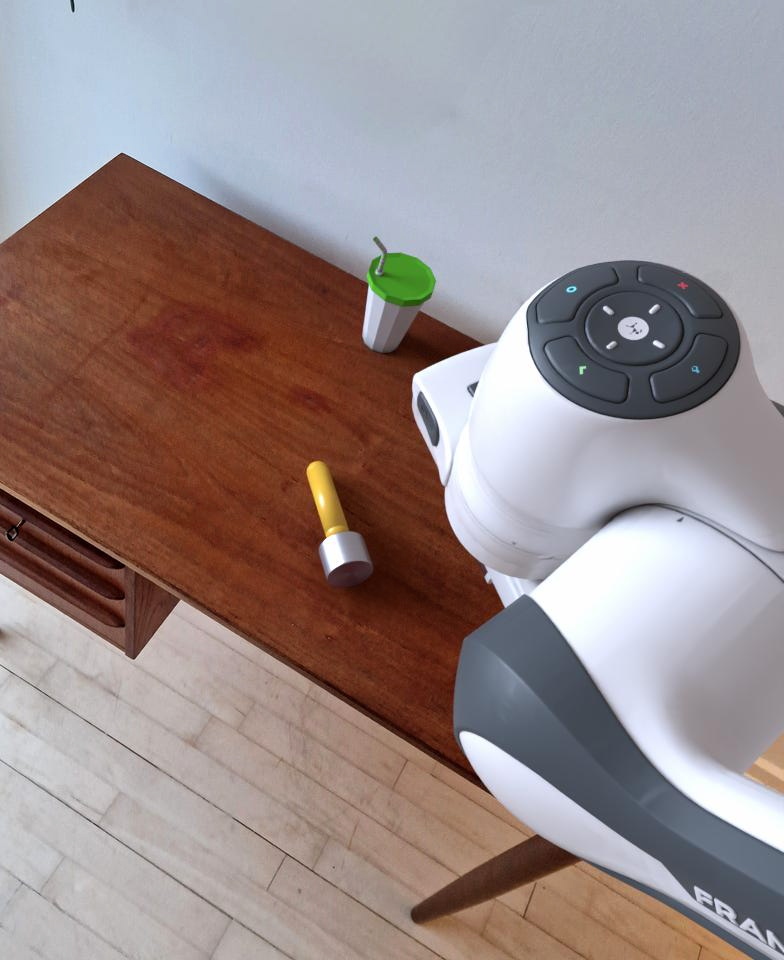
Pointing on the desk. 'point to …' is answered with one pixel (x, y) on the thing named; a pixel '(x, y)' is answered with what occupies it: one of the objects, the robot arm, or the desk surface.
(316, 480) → the yellow lever knob
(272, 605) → the desk surface
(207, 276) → the desk surface
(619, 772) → the robot arm
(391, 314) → the cup
